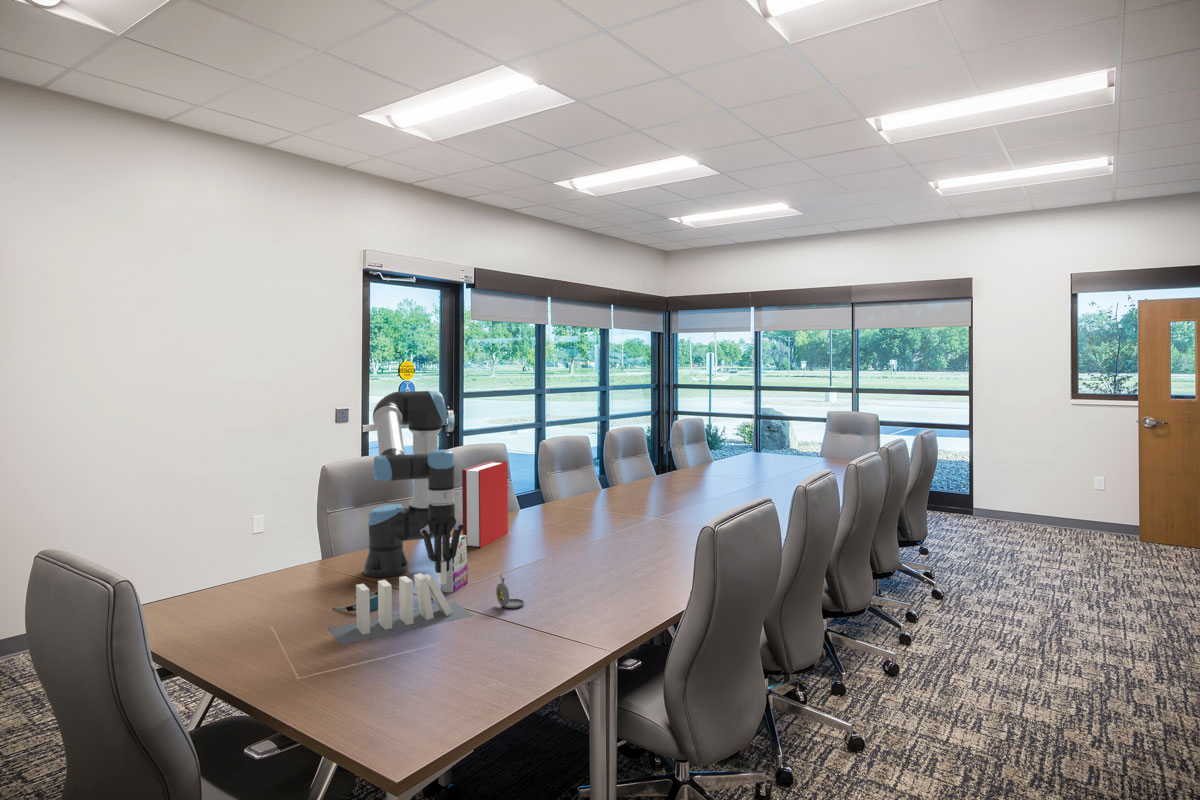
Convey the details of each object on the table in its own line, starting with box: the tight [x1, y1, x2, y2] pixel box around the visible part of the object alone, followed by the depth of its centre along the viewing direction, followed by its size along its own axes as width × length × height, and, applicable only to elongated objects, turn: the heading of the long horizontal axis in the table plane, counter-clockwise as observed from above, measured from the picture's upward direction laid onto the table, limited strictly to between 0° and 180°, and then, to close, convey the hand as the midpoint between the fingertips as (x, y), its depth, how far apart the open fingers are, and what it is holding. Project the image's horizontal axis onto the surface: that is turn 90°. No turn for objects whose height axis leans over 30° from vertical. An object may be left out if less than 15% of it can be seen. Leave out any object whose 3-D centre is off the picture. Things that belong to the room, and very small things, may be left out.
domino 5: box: [423, 573, 453, 616], centre depth 194 cm, size 6×2×12 cm, turn 35°
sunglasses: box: [333, 591, 378, 612], centre depth 202 cm, size 14×15×5 cm
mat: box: [328, 601, 474, 646], centre depth 188 cm, size 14×37×1 cm, turn 125°
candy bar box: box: [440, 534, 469, 593], centre depth 219 cm, size 11×5×16 cm, turn 168°
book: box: [461, 460, 509, 549], centre depth 282 cm, size 27×8×32 cm, turn 163°
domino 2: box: [377, 579, 393, 630], centre depth 185 cm, size 6×2×12 cm, turn 35°
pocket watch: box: [495, 575, 525, 609], centre depth 201 cm, size 8×8×10 cm
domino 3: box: [398, 575, 414, 625], centre depth 188 cm, size 6×2×12 cm, turn 35°
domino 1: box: [355, 583, 371, 635], centre depth 182 cm, size 6×2×12 cm, turn 35°
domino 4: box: [413, 572, 434, 620], centre depth 191 cm, size 6×2×12 cm, turn 35°
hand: (442, 582), depth 194 cm, fingers closed
